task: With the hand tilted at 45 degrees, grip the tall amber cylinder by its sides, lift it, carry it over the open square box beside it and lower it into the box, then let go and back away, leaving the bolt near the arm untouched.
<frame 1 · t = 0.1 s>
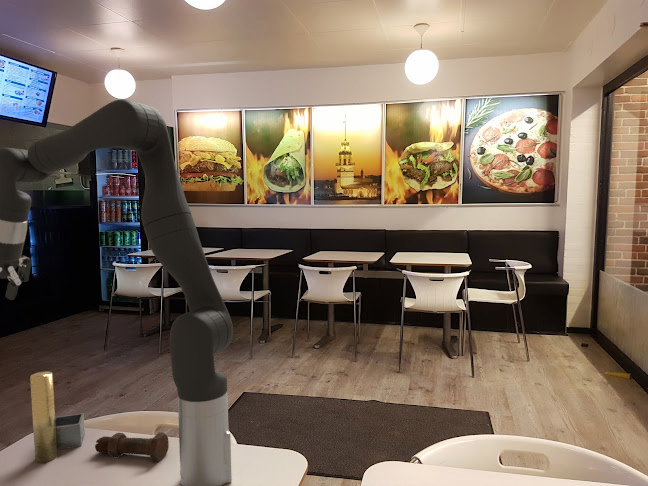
bolt: (131, 456, 103), on the table
open square box: (68, 442, 109), on the table
tall amber cylinder: (46, 457, 102), on the table
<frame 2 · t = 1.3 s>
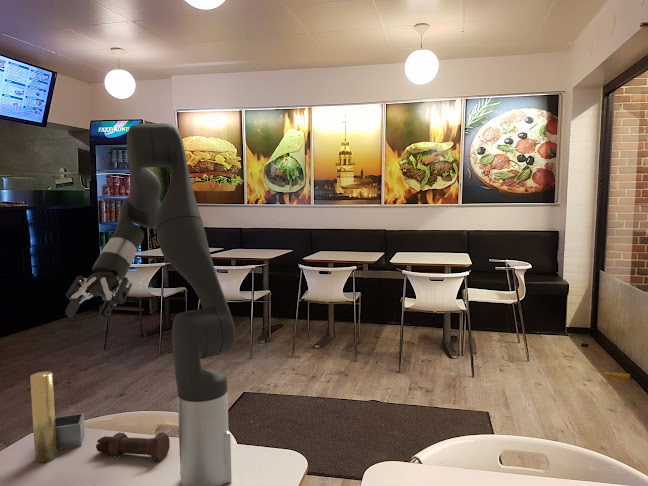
hand: (84, 316, 109), 28 cm above the table, tool tilted 45°, fingers open, 8 cm apart
nothing on the table moved.
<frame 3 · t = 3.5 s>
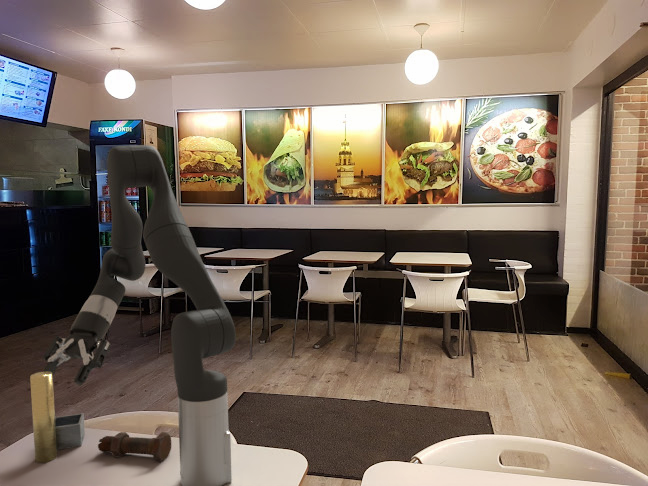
hand: (61, 381, 106), 15 cm above the table, tool tilted 45°, fingers open, 8 cm apart
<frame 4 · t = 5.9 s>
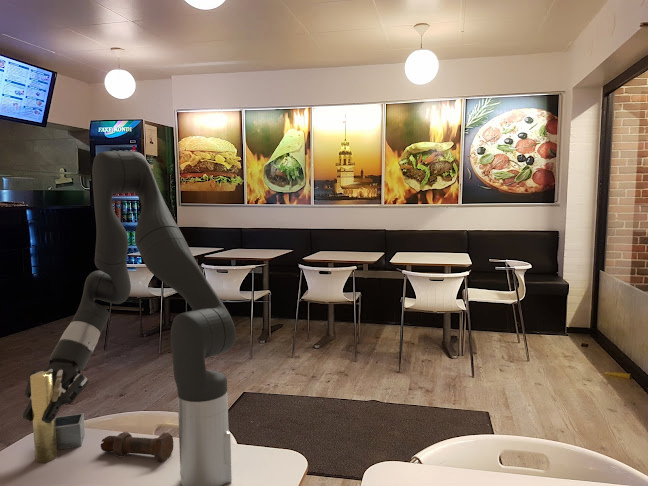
hand: (36, 420, 99), 9 cm above the table, tool tilted 45°, fingers closed on tall amber cylinder, 4 cm apart
tall amber cylinder: (46, 457, 102), on the table, touching gripper
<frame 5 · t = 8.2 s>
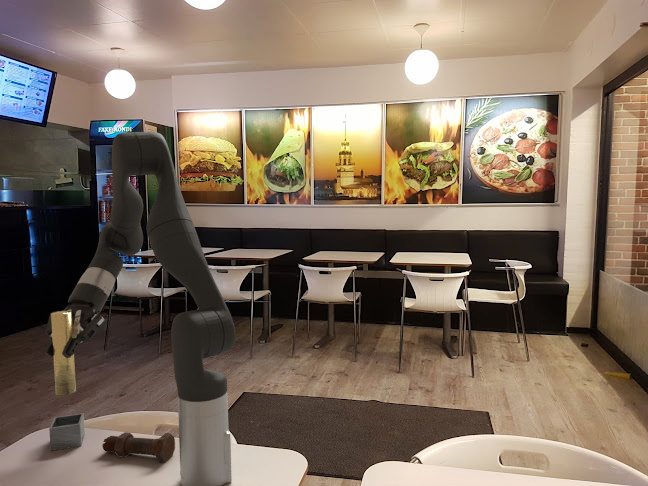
hand: (57, 355, 105), 21 cm above the table, tool tilted 45°, fingers closed on tall amber cylinder, 4 cm apart
tall amber cylinder: (65, 392, 108), point 12 cm above the table, touching gripper
when the fingers open (9 cm above the table, at t = 11.0 s): tall amber cylinder stays where it is, resting in open square box.
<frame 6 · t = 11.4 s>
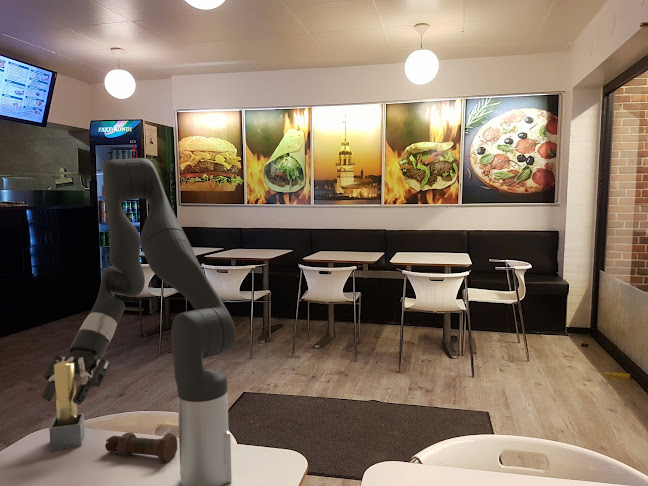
hand: (60, 401, 106), 10 cm above the table, tool tilted 45°, fingers open, 7 cm apart
tall amber cylinder: (68, 441, 109), resting in open square box
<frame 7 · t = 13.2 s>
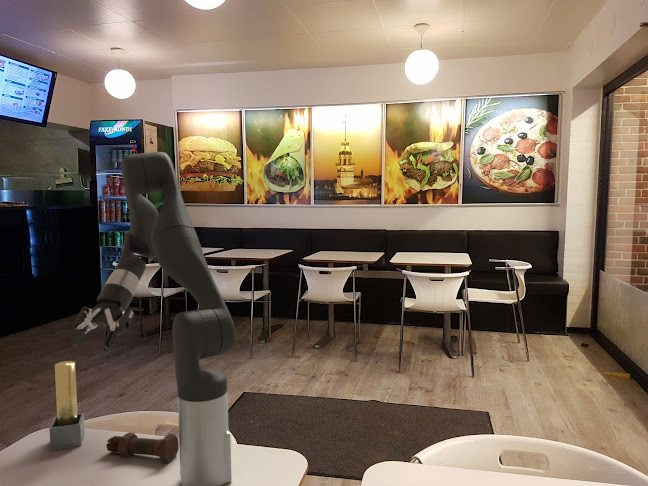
hand: (90, 346, 115), 20 cm above the table, tool tilted 45°, fingers open, 8 cm apart
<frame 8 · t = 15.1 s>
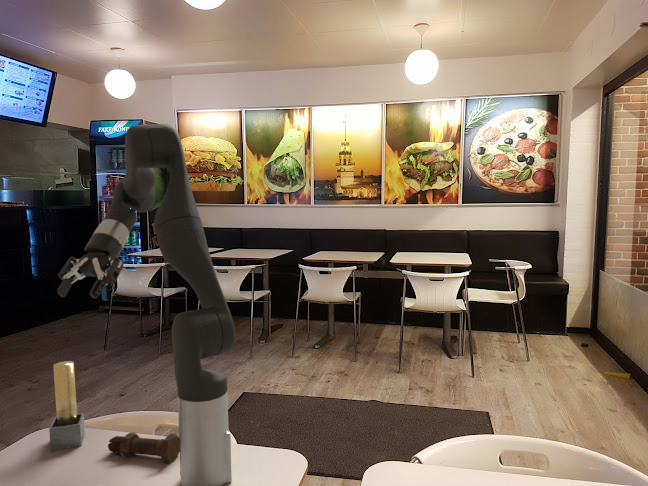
hand: (76, 295, 110), 33 cm above the table, tool tilted 45°, fingers open, 8 cm apart
at the end: tall amber cylinder 0.1 cm off-centre on the open square box, point 0.0 cm above the open square box's base; tall amber cylinder tilted 1°; the gripper is holding nothing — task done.
